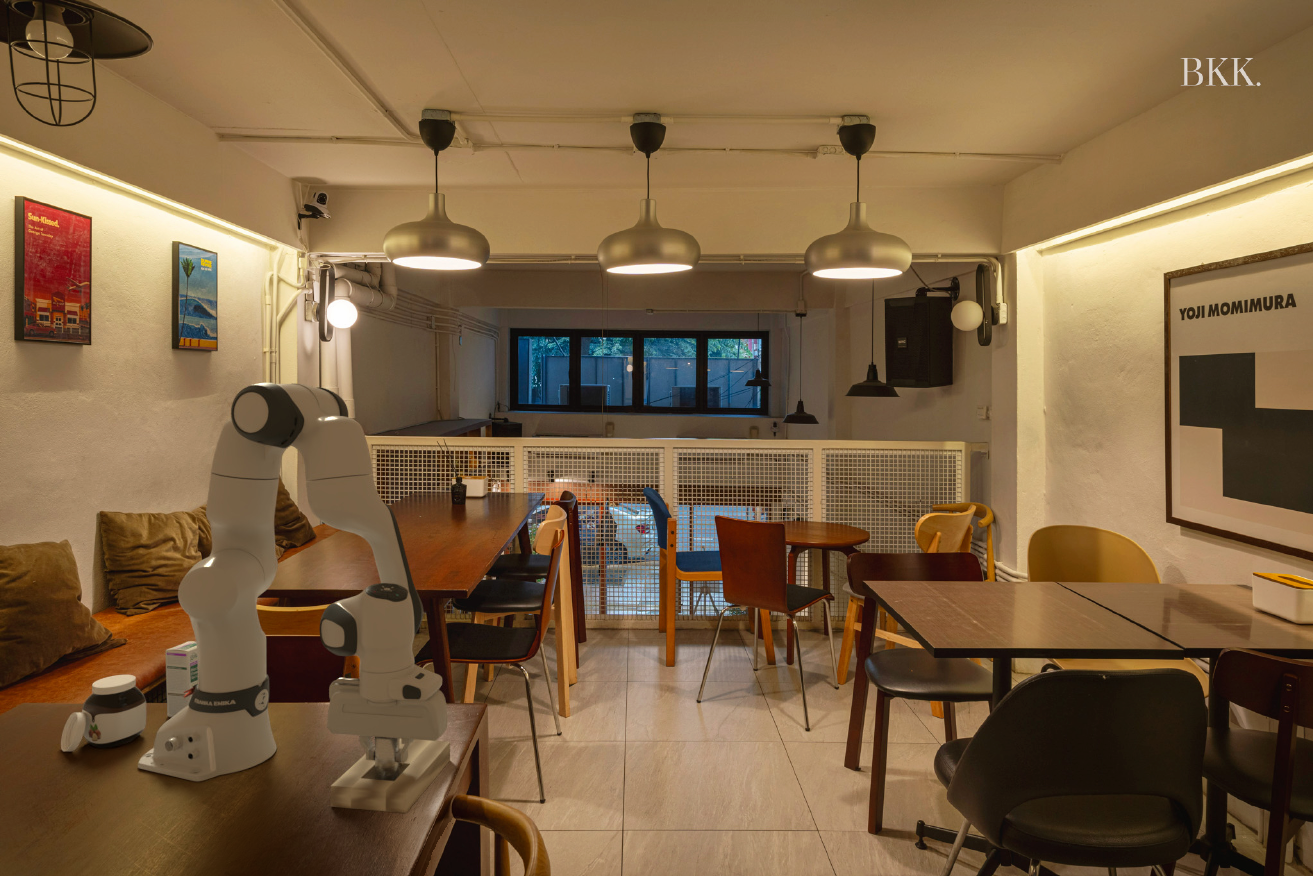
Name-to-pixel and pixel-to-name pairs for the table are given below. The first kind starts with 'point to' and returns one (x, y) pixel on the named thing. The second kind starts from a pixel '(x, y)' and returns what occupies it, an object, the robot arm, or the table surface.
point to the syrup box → (180, 675)
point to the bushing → (386, 758)
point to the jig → (396, 795)
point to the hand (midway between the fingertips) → (387, 760)
